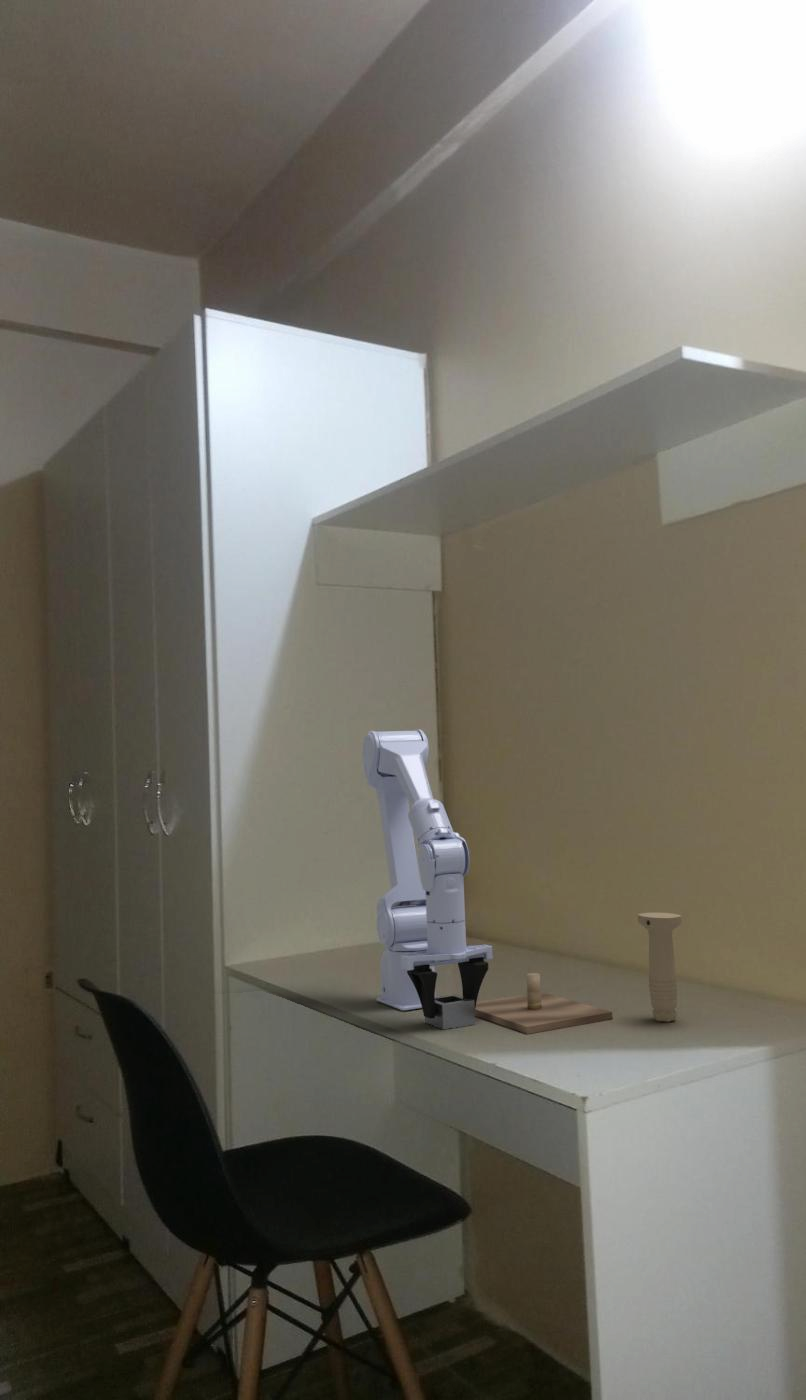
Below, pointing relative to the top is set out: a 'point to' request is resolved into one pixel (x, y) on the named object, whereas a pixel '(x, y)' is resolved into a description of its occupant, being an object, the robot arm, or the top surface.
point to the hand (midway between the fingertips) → (449, 1013)
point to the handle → (661, 963)
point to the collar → (453, 1012)
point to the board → (538, 1010)
